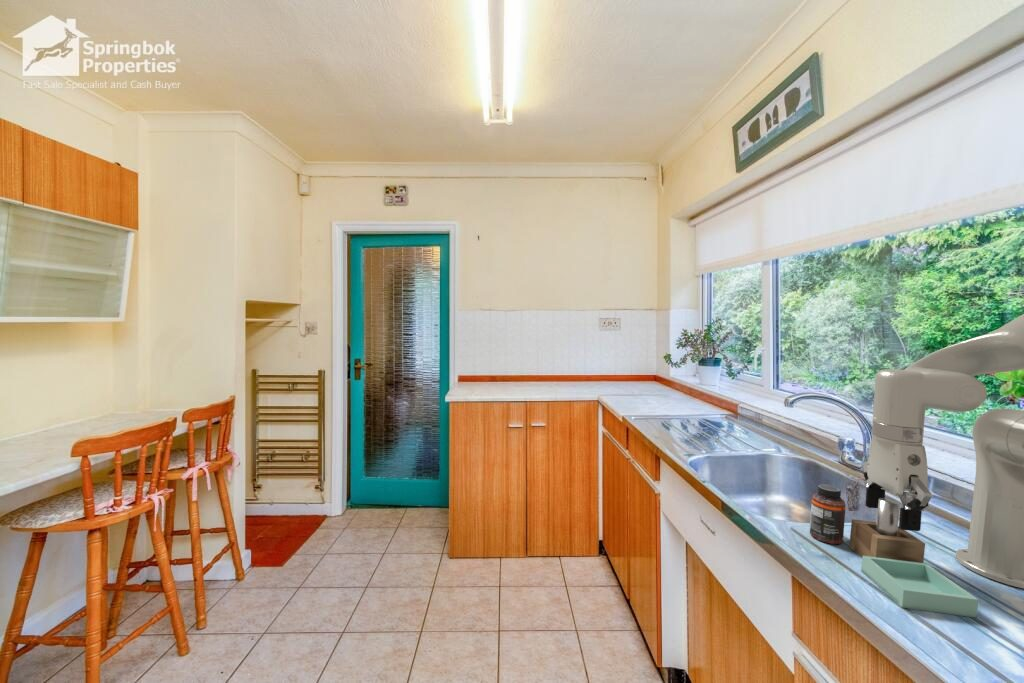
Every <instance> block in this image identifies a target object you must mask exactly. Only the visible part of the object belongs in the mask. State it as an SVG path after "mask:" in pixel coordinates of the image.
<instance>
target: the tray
mask: <svg viewBox="0 0 1024 683" xmlns="http://www.w3.org/2000/svg"><path fill="white" fill-rule="evenodd" d="M860 571H861V573H862V574H863V575H865V576H866V577H867V578H868V579H869V580H870V581H872V582H873V584H875V585H876V586H877V587H878V588H879V589H880V590H882V591H883V592H884V593H885V594H886V595H888V597H889V598H891V600H892V601H894V602H895V603H896V604H897V605H898V606H900V608H903V609H910V610H916V611H924V612H931V613H938V614H939V613H940V614H944V615H945V614H946V615H954V616H961V617H968V618H969V617H970V618H977V616H978V608H979V607H978V606H979V599H978V598H977V597H975V596H974V595H973V594H971V593H969V592H968V591H966V590H965V589H964V588H962V587H961V586H960V585H958V584H957V583H955V582H954V581H952V580H951V579H949V578H948V577H947V576H945V575H944V574H942V573H941V572H939V571H938V570H937V569H935V568H934V567H932V566H931V565H929V564H928V563H924V562H923V563H919V562H911V561H902V560H894V559H886V558H877V557H869V556H862V557H861V570H860Z"/></svg>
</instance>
